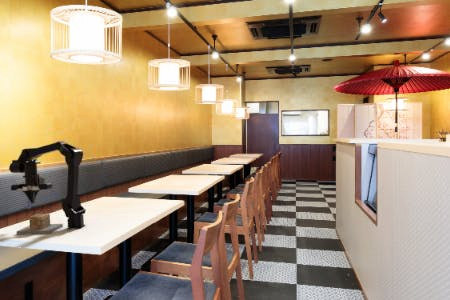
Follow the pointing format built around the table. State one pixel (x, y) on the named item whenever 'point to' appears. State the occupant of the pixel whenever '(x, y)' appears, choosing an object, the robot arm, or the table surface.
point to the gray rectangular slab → (40, 231)
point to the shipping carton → (39, 221)
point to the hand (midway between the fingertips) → (32, 203)
